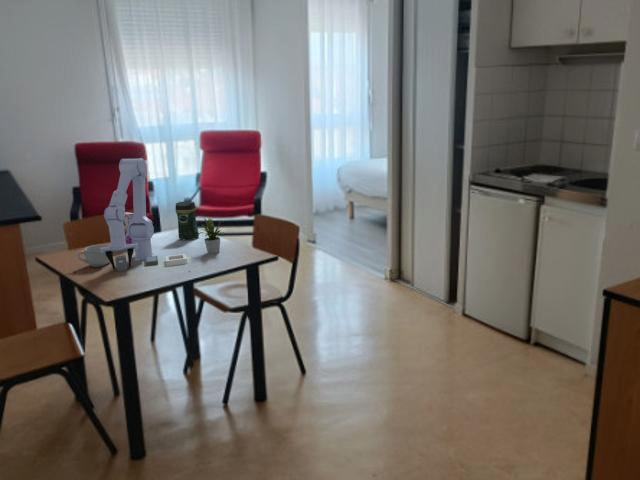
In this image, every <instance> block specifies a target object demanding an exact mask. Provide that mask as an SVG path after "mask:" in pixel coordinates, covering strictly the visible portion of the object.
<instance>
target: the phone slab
mask: <svg viewBox="0 0 640 480" xmlns="http://www.w3.org/2000/svg"><path fill="white" fill-rule="evenodd" d="M158 258H159V257H158V255H153V256H151V257H145V260H144V261H145V262H146V266H151V265H158Z"/></svg>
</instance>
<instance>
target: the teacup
mask: <svg viewBox="0 0 640 480" xmlns="http://www.w3.org/2000/svg"><path fill="white" fill-rule="evenodd" d="M108 246H111V244H110V245H109V244H92V245H89V246H86V247H85V248H84V250H79V251H78V252H77V254H76V258H77V259H78V260H79V261H81V262H84V263H85V264H88V265H89V266H91V267H93V268H102V267H104V266H106V265H108V264H110V261H109V259H108V258H107V256H106V253H105V252H104V253H101V251H100V248H102V247H108ZM81 254H83V255H84V257H85V258H82V257H80V255H81Z"/></svg>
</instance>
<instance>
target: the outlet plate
mask: <svg viewBox="0 0 640 480" xmlns="http://www.w3.org/2000/svg"><path fill="white" fill-rule="evenodd" d="M164 257H165V258H160V259H158V265H151V266H146V262H145V260H141V267H142V268H141V269H142V270H151V269H157V268H165V267H172V266H173V267H174V266H182V265H188V264H192V263H193V262H192V260H191V257H190V255H186V253H181V254H172V255H165V256H164Z"/></svg>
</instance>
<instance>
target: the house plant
mask: <svg viewBox="0 0 640 480" xmlns="http://www.w3.org/2000/svg"><path fill="white" fill-rule="evenodd" d="M202 219H203V220H204V222H205V224H206V225H204V224H202V228H204V232H201V231H199V230H198V232H199V234H198V235H199V236H200V234H203V235H204V236H205V237H206V238H204V239H203V240H204V243H205V248H206V251H207V253H208V254H211V255H212V254H213V255H214V254H219V253H220V250H221V247H220V246H221V237H220V234H223V233H225V232H224V231H222V230H220V224H221V223H223V222H225V221H222V220H220V221H219V223H218V224H217V226H216V228H215V225H214V220H213V219H212V218H210V217H208V220H207V219H206V218H205V217H202ZM221 221H222V222H221ZM221 231H222V232H221Z"/></svg>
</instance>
